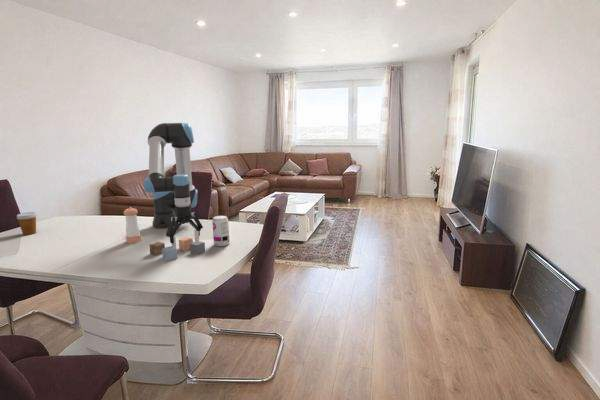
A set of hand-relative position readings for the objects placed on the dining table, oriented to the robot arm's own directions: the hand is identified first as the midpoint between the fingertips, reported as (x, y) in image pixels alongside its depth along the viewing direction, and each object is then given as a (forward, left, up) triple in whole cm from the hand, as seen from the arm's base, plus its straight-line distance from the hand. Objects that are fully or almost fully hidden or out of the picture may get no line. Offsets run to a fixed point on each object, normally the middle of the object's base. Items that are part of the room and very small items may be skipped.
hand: (186, 245), depth 181 cm
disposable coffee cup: (-97, -42, -2) cm, 106 cm away
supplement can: (+10, +15, -2) cm, 18 cm away
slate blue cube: (+6, -13, -2) cm, 14 cm away
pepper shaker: (-33, -11, -2) cm, 35 cm away
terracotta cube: (0, 0, -2) cm, 2 cm away
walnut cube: (-5, -13, -2) cm, 14 cm away
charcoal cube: (+10, 0, -2) cm, 10 cm away
